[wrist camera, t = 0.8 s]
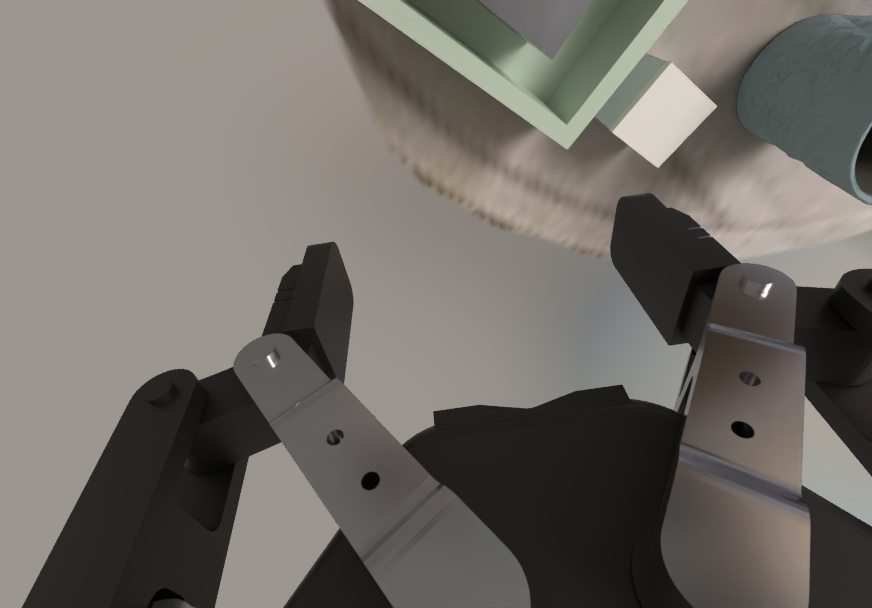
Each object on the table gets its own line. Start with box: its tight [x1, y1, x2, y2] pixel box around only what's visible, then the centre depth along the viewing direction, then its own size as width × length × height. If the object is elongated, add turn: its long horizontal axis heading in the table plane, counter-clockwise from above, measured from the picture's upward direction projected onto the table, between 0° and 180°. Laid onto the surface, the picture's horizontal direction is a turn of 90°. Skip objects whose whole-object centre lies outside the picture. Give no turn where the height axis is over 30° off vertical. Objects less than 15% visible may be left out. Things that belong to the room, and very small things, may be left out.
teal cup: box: [736, 14, 872, 205], centre depth 28 cm, size 10×10×12 cm
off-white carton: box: [594, 53, 717, 168], centre depth 31 cm, size 5×5×5 cm
